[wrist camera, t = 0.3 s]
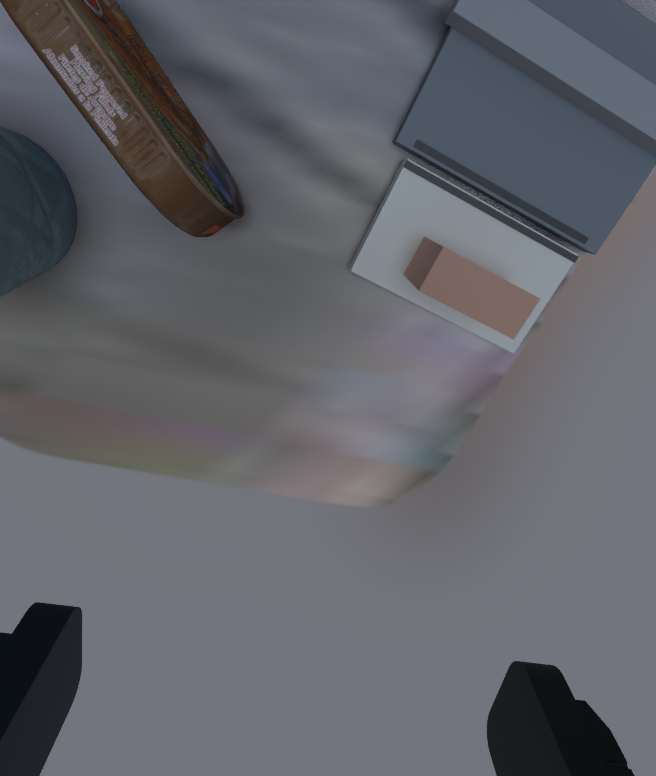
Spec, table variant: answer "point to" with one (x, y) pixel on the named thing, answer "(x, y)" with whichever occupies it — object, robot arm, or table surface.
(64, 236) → the blue pot
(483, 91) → the grey plate with ridge
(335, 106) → the table surface
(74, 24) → the tin
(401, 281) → the white plate with block
